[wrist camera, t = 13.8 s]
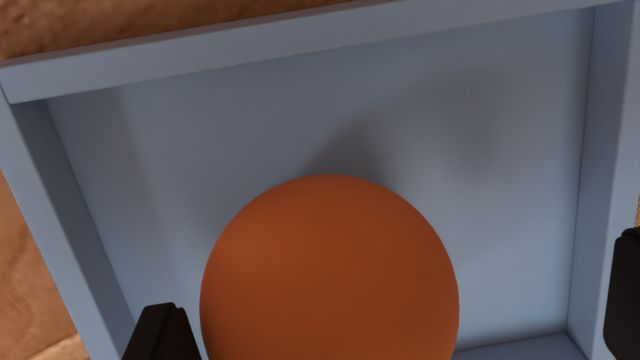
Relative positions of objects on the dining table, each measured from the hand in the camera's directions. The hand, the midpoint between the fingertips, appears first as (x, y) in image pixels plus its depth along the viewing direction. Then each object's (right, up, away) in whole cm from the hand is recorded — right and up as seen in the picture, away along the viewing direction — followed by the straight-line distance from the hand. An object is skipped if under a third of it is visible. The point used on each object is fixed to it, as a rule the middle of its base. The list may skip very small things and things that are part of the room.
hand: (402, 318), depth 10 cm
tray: (-1, +2, +4) cm, 5 cm away
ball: (-2, 0, +1) cm, 2 cm away
